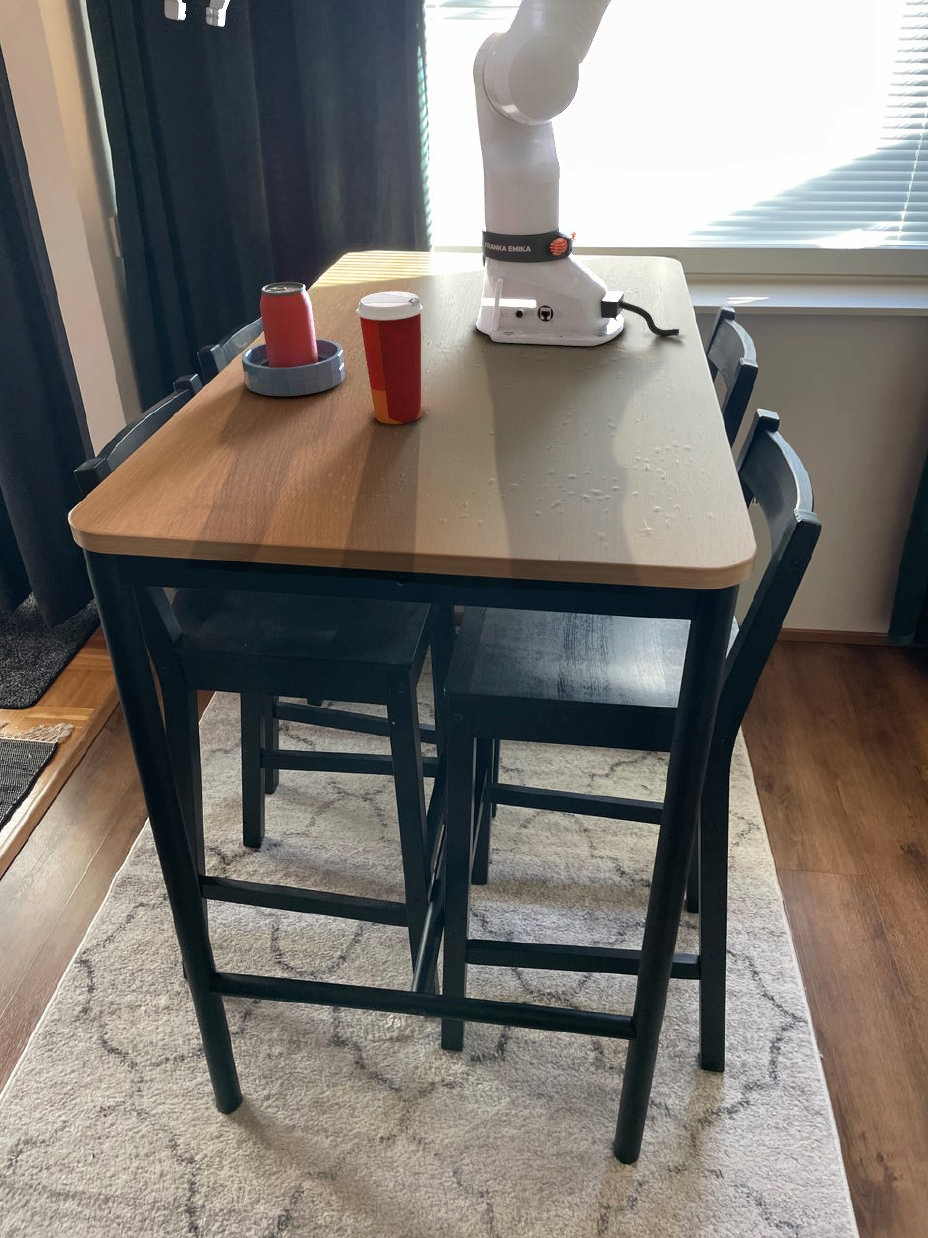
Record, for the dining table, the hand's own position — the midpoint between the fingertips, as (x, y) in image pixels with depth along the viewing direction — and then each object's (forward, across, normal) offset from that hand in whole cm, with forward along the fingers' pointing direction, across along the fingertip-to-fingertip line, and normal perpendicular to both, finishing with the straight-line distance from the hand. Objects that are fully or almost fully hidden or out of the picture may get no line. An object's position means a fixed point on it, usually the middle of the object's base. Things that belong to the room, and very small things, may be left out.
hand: (195, 22), depth 111 cm
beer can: (+39, -4, -18) cm, 43 cm away
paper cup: (+37, -14, -36) cm, 53 cm away
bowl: (+39, -4, -18) cm, 43 cm away
